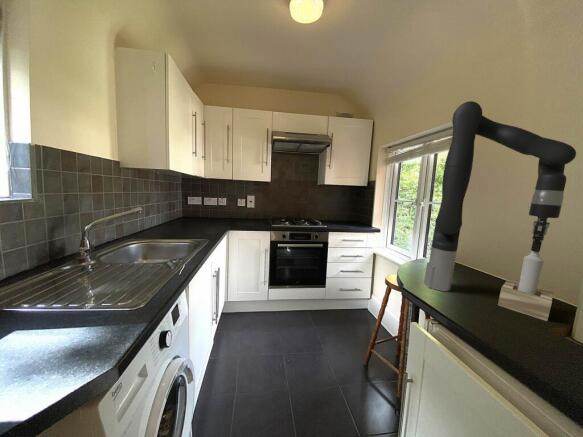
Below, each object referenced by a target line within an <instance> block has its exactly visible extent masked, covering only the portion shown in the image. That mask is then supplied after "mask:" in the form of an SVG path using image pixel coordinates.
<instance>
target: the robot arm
mask: <svg viewBox="0 0 583 437" xmlns="http://www.w3.org/2000/svg"><path fill="white" fill-rule="evenodd" d="M451 120H452V121H451V124H452V136H451V142H450V146H449V149H448V153H447V156H446V159H445V163H444V169H443V174H442V184H441V185H442V186H441V187H442V188H441V202H440V206H439V210H438V213H437V216H436V218H435V223H434V230H433V235H432V241H431V242H432V243H431V247H430V254H429V259H428V260H429V261H428V262H427V263H426V267H425V273H424V281H423V283H424V284H425V285H426V286H427V287H428V288H429V289H433V290H437V291H440V292H441V291H442V292H450V291H451V287H452V281H453V274H454V270H455V269H454V268H455V264H456V263H455V262H456V259H457V253H458V252H457V251H458V247H459V238H460V233H461V228H462V226H463V209H464V208H463V207H464V206H463V205H464V200H465V197H466V193H467V190H468V187H469V184H470V180H471V177H472V170H473V163H474V153H475V140H476V135H477V136H480V137H482V138H486V139H488V140H490V141H492V142H495V143H497V144H500V145H502V146H504V147H506V148H509V149H511V150H513V151H515V152H517V153H519V154H522V155H526V156H533V157H535V158H537V159H538V163H537V164H538V166H537V179H536V184H535V188H534V192H533V195H532V199H531V203H530V206H529V211H528V215H529V216H531V217H537V220H534V221H533V224H532V225H533V228H532V238H531V239H532V244H531V248H530V250H531V252H532V251H535V252H539V253H540V251H541V247H542V243H543V242H544V239H545V236H546V235H547V232H548V229H549V227H550V222H548V219H550V218H551V219H558V218H559V217H560V214H561V210H562V206H563V205H562V204H563V201H564V193H565V190H566V189H565V188H566V184H567V176H566V175H565V169H566V168H565V167H566V165H568V164H570V163H571V162H573V160H574V159H575V158H576V157H577V151H576V149H575V147H573V146H572V145H570V144H568V143H566V142H564V141H559V140H555V139H553V138H548V137H543V136H541V135H539V134H536V133H534V132H532V131H529V130H527V129H524V128H521V127H518V126H513V125H509V124H504V123H500V122H498V121H497V122H496V121H494V120H492V119H489V118H487V116H484V115H483V108H482V106H481V105H480V104H479V103H478V102H477V101H473V100H471V101H466V102H463V103H462V104H460V105H459V106H457V108H456V109H455V110H454V112H453V114H452V119H451ZM537 236H541V237H537Z"/></svg>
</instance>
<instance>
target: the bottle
mask: <svg viewBox="0 0 583 437" xmlns="http://www.w3.org/2000/svg"><path fill="white" fill-rule="evenodd" d="M537 237H541V236H537ZM544 261H545V260H544V259H543V258H542V257H541V255H540V251H539V252H535V251H532V250H531V252H530V253H529V254H528V255H525V256H524V257H523V262H522V267H521V272H520V277H519V282H518V284H519V287H518V290H519V291H522V292H526V293H529V294H533V295H535V292H536V289H538V284H539V281H540V277H541V274H542V269H543V265H544Z"/></svg>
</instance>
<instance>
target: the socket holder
mask: <svg viewBox="0 0 583 437" xmlns="http://www.w3.org/2000/svg"><path fill="white" fill-rule="evenodd" d="M518 287H519V282H514V281H509V280H506V281H505V282H504V284H503V285H502V286H501V287H500V288H501V289H500V293H499V298H498V303H497V306H499V307H502V308H506V309H508V310H511V311H514V312H517V313H521V314H524V315H527V316H530V317H533V318H535V319H539V320H542V321H546V322H548V319H549V316H550V311H551V307H552V303H553V294H554V292H552V291H549V290H544V289H542V288H537V289H536V292H535V295H533V294H529V293H526V292H522V291H519V290H518Z"/></svg>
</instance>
